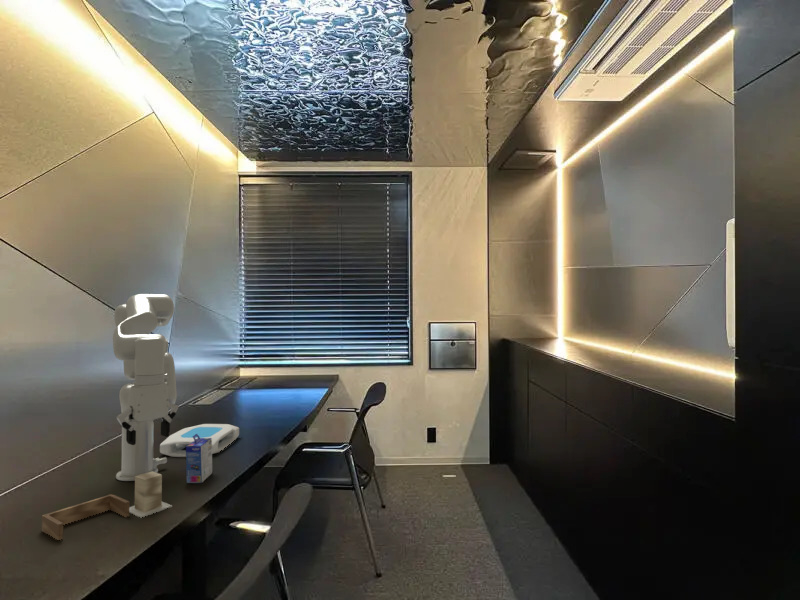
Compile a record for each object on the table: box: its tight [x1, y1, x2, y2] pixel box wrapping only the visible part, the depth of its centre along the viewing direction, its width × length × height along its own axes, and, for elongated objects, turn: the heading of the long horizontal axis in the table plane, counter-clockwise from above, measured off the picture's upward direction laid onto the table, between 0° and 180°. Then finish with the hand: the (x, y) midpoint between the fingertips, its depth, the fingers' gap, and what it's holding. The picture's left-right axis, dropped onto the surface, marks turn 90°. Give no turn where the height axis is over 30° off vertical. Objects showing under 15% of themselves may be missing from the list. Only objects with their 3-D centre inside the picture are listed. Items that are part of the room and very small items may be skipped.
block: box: [134, 471, 163, 512], centre depth 137 cm, size 5×5×9 cm
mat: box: [129, 501, 173, 519], centre depth 137 cm, size 9×9×1 cm
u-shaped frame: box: [41, 493, 130, 541], centre depth 127 cm, size 17×10×4 cm, turn 147°
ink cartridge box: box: [185, 434, 213, 484], centre depth 161 cm, size 10×6×14 cm, turn 2°
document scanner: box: [159, 423, 240, 458], centre depth 198 cm, size 21×28×6 cm
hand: (148, 439), depth 137 cm, fingers open, 9 cm apart
